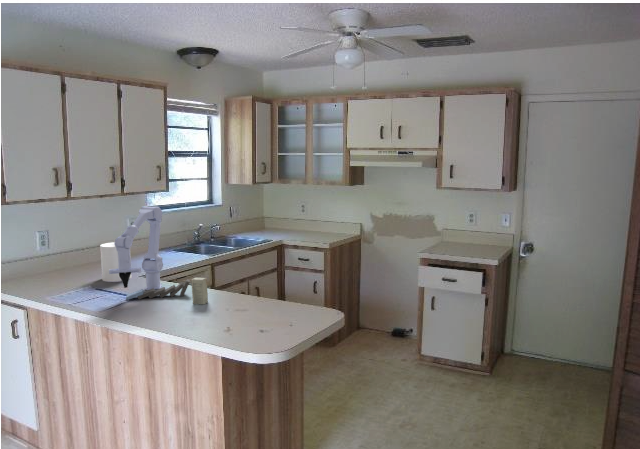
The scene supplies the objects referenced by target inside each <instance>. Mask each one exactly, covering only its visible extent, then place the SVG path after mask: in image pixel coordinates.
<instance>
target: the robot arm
mask: <svg viewBox="0 0 640 449" xmlns="http://www.w3.org/2000/svg"><path fill="white" fill-rule="evenodd" d="M162 215H163V210H162V209H161V207H159V206H146V205H142V206H141V207H140V209H139V210H138V215H137V217H136V218H135V220H134V222H133V223H132V224H130V225H128V226H126V228H125V230H123V233H122V234H121V235H119V236H117V237H115V240H114V242H115V243H114V244H115V247H116V250H117V251H118V266H119V269H111V270H109V274H117V273H119V277H120V278H121V280H122V281H121V283H122V285H123V288H124V289H126V288H127V289H128V286H129V280H130V279H129V277H130V275H131V274H133V273H138V274H139V273H141V272H142V270H143V273H145V288H144V291H147V290H150V289H152V288H154V289H155V290H158V289H160V288H162V287H163V285H162V283H161V271H162V270H163V267H164V263H163V257H162V256H161V255H160V254H159V249H160V236H161V227H162V226H161V225H162V224H161V223H162V217H163V216H162ZM145 222H148V224H149V235H148V246H147V247H148V248H147V253H146V254H145V255H144V256H143V259H142V262H141V267H132V258H130V255H131V247H132V246H133V242H134V239H135V237H136V236H137V235H138V234H139V229H140V228H141V226H143V224H144V223H145ZM141 269H142V270H141ZM125 273H126V274H125Z"/></svg>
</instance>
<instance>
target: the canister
mask: <svg viewBox="0 0 640 449" xmlns="http://www.w3.org/2000/svg"><path fill="white" fill-rule="evenodd" d="M114 243H115V241H114V242H113V241H112V242H106V243H102V244H100V245H99V249H100V265H101V279H102V280H101V281H102V282H108V283H111V282H113V283H115V282H118V283H119V282H122V280H121V278H120V277H119V273H117V274H109V270H111V269H119V266H118V251H117V250H116V247H115V244H114ZM131 256H132V255H131V254H130V258H131ZM131 259H132V258H131ZM125 274H126V273H125ZM132 274H133V273H131V275H130V277H129V280H130V279H132V278H133V276H132Z"/></svg>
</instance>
